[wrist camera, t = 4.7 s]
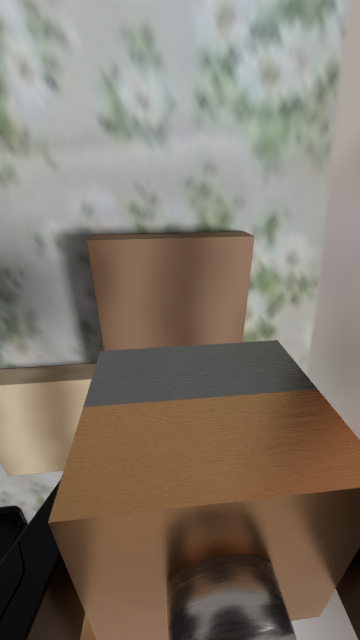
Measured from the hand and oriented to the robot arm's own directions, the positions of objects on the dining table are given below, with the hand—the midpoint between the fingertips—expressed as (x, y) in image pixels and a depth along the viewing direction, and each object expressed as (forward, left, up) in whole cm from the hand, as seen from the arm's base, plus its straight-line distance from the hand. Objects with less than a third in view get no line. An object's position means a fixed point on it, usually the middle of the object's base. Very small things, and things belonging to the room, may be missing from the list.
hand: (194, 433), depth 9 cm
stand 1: (-10, -10, -12) cm, 18 cm away
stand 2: (0, 0, -12) cm, 12 cm away
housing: (0, 0, -1) cm, 1 cm away
